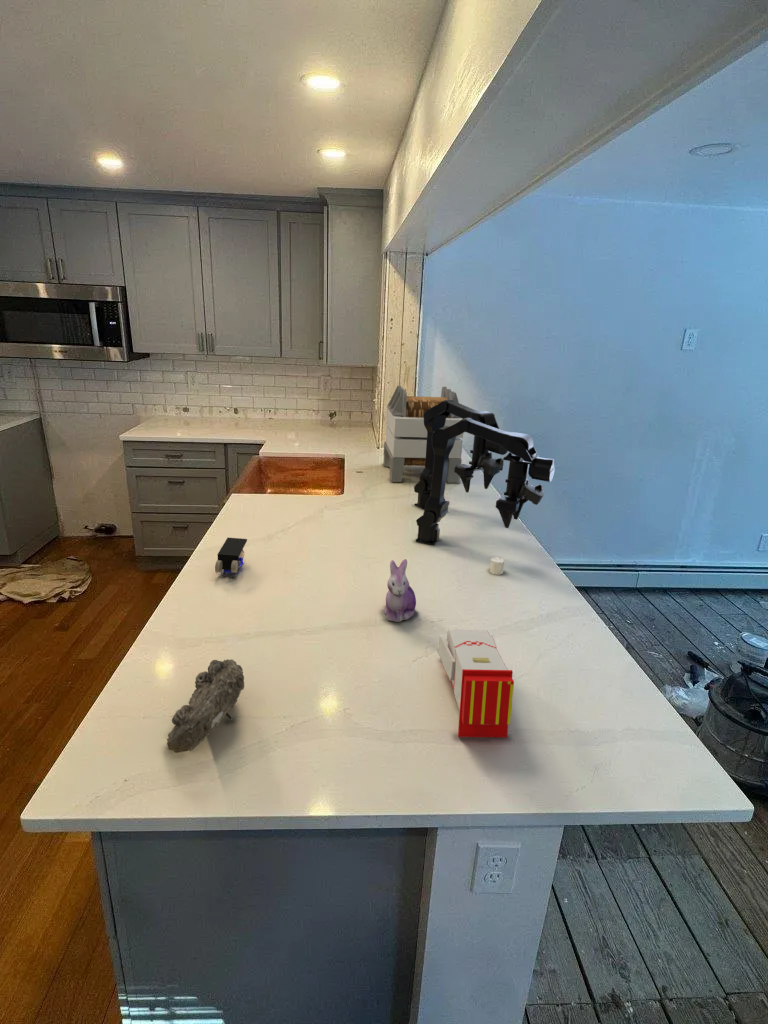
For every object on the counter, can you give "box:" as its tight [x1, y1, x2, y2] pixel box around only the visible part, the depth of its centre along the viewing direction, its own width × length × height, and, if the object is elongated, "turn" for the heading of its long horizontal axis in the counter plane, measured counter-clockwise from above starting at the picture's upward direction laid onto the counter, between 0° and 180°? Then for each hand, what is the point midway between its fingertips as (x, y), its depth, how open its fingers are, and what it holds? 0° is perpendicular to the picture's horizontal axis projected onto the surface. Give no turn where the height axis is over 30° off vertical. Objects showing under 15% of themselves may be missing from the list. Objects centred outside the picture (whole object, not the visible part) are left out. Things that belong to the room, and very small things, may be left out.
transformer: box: [383, 384, 464, 484], centre depth 268 cm, size 34×33×41 cm
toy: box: [437, 628, 515, 738], centre depth 117 cm, size 12×13×30 cm
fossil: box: [166, 658, 245, 754], centre depth 106 cm, size 22×10×15 cm
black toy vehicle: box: [214, 537, 248, 578], centre depth 166 cm, size 7×8×15 cm
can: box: [489, 556, 505, 576], centre depth 173 cm, size 4×4×4 cm
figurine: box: [384, 558, 417, 623], centre depth 145 cm, size 9×10×15 cm
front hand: (511, 523), depth 178 cm, fingers open, 9 cm apart
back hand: (476, 490), depth 204 cm, fingers open, 9 cm apart
